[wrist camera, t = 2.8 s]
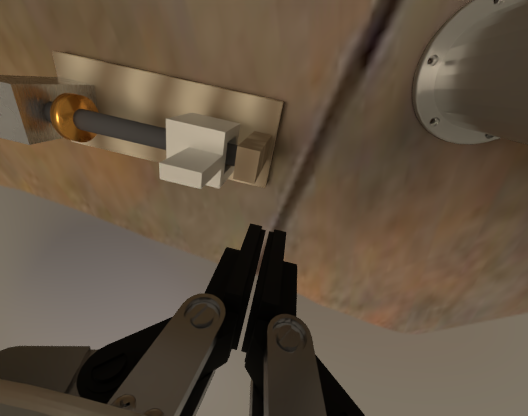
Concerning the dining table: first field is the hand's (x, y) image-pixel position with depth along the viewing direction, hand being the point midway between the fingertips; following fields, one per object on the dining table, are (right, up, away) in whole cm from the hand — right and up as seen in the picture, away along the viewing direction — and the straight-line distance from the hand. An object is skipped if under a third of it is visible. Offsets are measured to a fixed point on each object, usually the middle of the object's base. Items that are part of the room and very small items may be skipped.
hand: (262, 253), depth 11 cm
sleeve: (-5, +9, +13) cm, 17 cm away
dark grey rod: (-12, +10, +12) cm, 20 cm away
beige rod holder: (-11, +13, +18) cm, 24 cm away
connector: (-20, +14, +17) cm, 30 cm away
